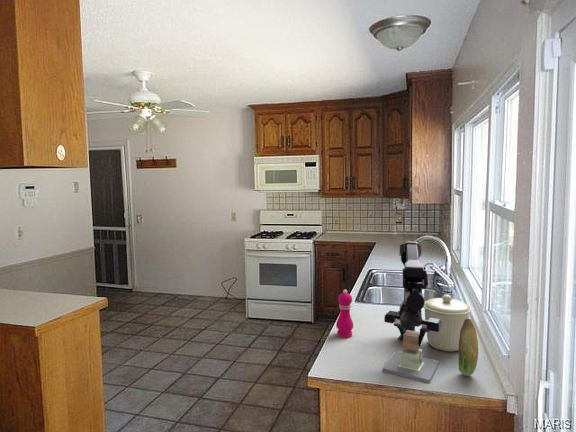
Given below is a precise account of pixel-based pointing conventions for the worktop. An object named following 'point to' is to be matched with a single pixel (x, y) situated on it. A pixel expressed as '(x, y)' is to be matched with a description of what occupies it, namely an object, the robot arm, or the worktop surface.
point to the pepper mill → (344, 316)
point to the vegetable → (468, 348)
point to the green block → (411, 358)
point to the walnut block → (411, 340)
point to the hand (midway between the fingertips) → (411, 344)
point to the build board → (421, 374)
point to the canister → (446, 321)
